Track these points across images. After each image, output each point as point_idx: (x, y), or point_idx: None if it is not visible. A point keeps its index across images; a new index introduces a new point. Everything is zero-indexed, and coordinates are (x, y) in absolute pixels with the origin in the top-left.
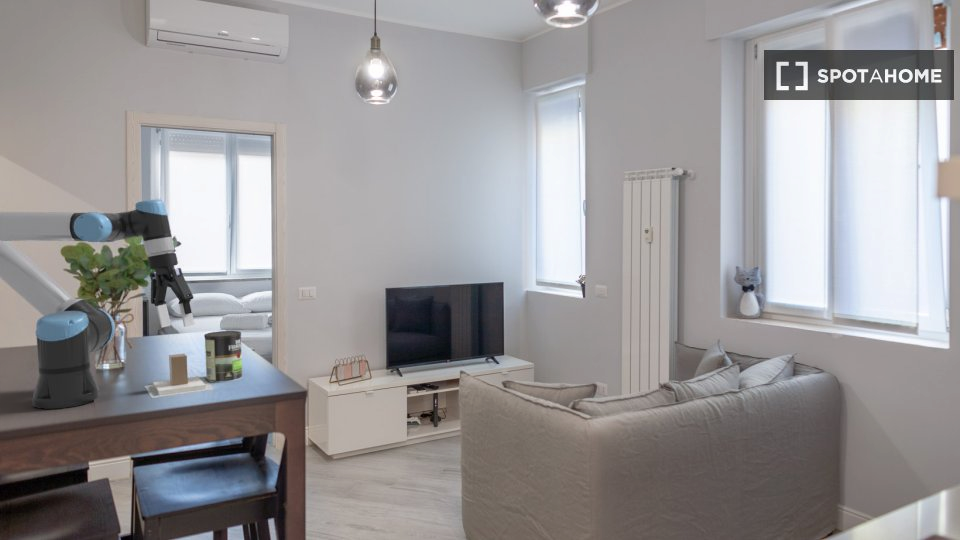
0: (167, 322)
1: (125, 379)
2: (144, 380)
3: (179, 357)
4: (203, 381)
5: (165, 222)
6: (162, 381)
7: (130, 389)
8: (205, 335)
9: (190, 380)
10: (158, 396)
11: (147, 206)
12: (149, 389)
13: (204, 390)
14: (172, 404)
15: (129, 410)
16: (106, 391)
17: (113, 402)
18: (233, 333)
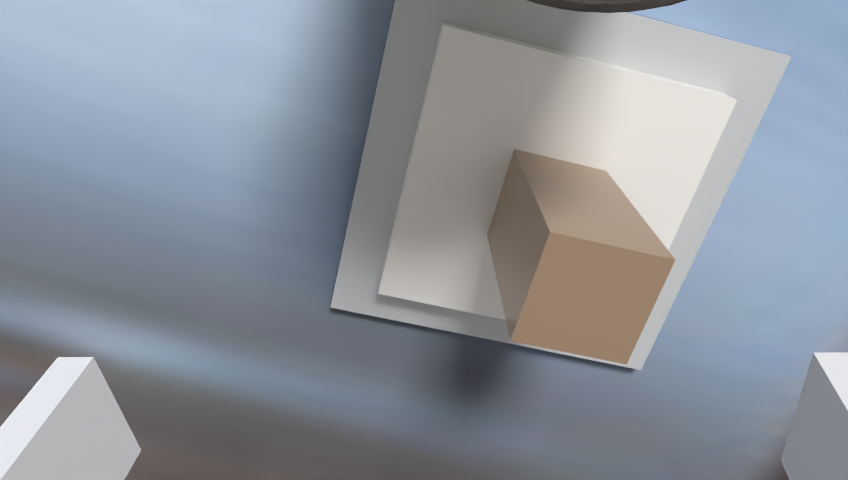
0: (79, 433)
1: (10, 298)
2: (115, 235)
3: (650, 307)
4: (506, 6)
5: None
6: (405, 250)
7: (307, 355)
8: (572, 4)
9: (526, 118)
10: (639, 338)
11: None
12: (443, 317)
13: (753, 117)
14: (806, 327)
15: (717, 469)
16: (264, 435)
17: (518, 471)
18: None
